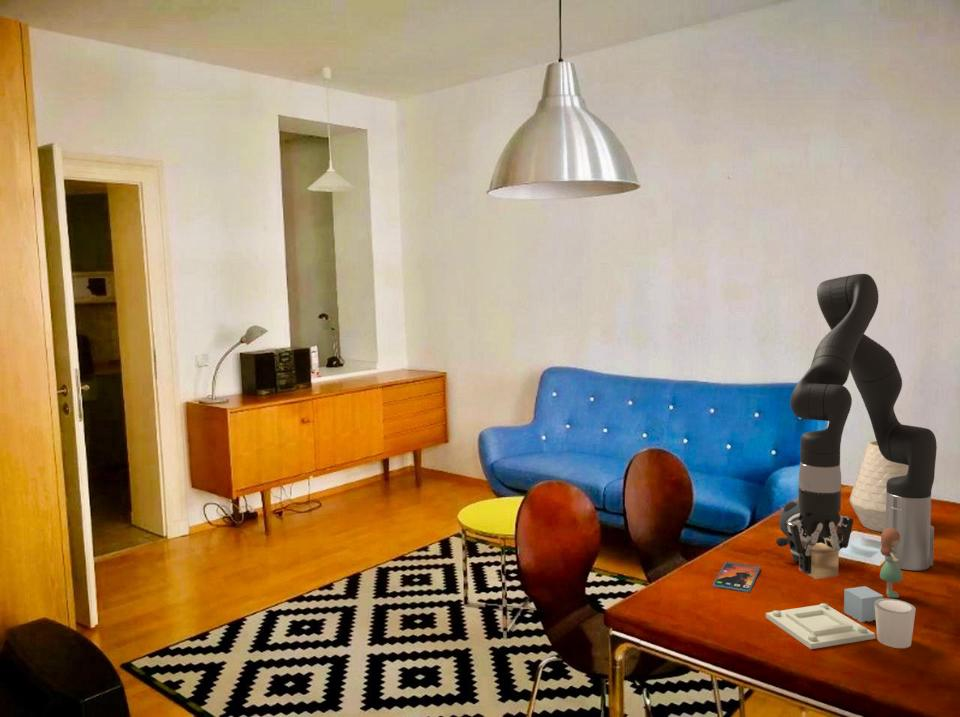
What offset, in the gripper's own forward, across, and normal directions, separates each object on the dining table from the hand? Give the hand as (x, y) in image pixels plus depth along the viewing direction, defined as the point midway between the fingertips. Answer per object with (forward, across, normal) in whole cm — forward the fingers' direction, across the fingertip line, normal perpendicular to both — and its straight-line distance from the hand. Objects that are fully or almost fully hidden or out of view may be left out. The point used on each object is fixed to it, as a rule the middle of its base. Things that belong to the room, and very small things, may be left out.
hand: (818, 570), depth 148 cm
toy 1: (+12, -19, -31) cm, 38 cm away
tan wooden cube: (0, 0, 0) cm, 0 cm away
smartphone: (+12, +1, -27) cm, 30 cm away
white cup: (+12, -10, +9) cm, 18 cm away
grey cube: (+12, -12, -2) cm, 17 cm away
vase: (+12, -56, -46) cm, 73 cm away
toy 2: (+12, -24, -8) cm, 28 cm away
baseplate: (+12, 0, 0) cm, 12 cm away
